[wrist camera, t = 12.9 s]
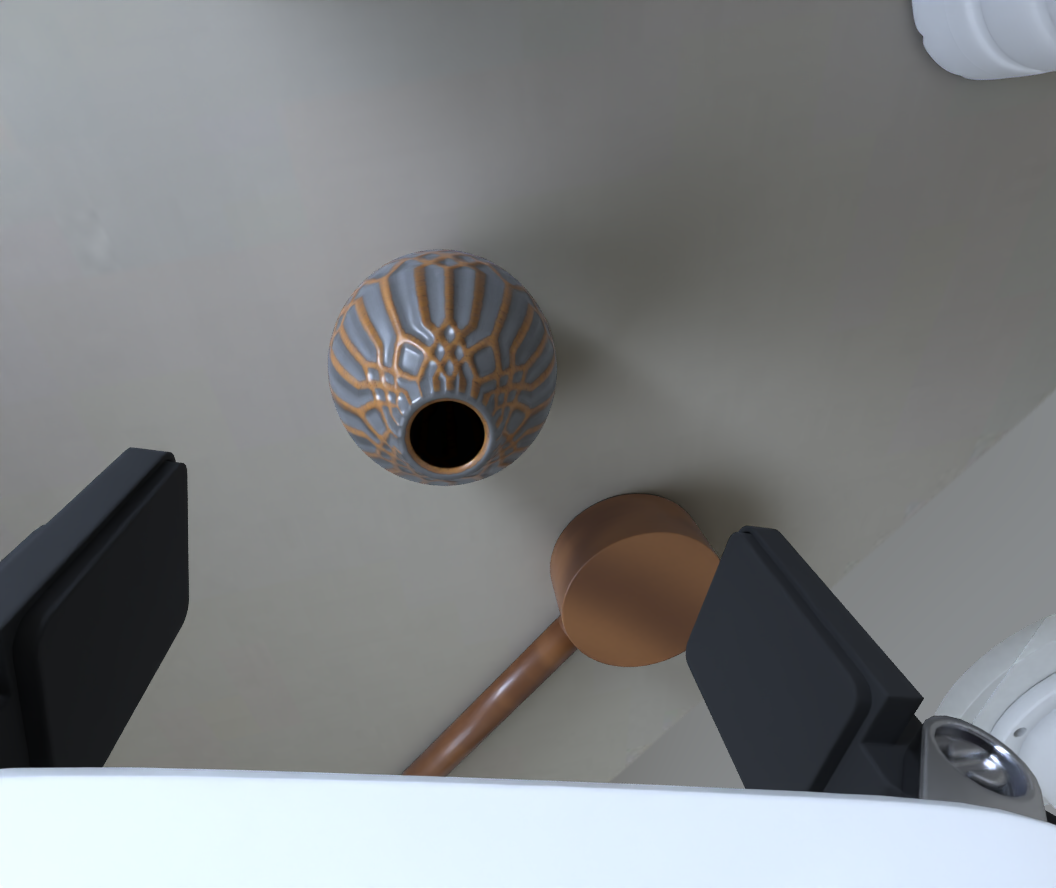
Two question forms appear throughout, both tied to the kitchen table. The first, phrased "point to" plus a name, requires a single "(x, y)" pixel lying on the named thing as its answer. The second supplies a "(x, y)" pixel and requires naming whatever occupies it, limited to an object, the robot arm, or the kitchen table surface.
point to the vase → (442, 367)
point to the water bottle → (989, 36)
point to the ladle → (599, 609)
